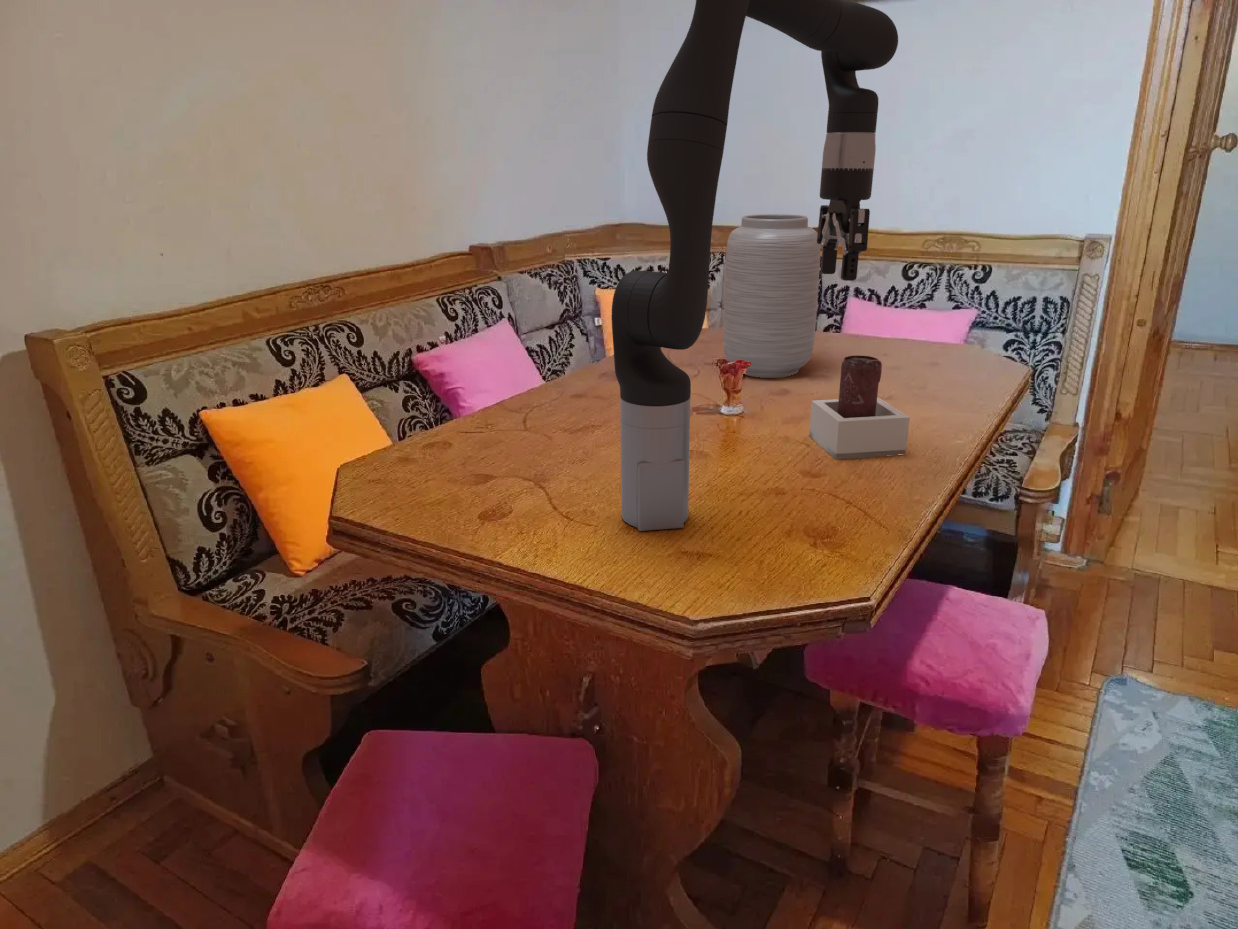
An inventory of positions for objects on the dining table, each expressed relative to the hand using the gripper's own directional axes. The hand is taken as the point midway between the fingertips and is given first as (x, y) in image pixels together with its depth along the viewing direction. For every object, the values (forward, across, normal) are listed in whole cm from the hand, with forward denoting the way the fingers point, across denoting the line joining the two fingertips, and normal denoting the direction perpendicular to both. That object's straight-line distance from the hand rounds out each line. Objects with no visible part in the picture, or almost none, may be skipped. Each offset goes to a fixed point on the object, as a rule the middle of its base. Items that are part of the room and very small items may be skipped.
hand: (837, 276), depth 131 cm
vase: (+28, +54, -7) cm, 61 cm away
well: (+28, +2, -7) cm, 29 cm away
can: (+28, +2, -7) cm, 28 cm away
